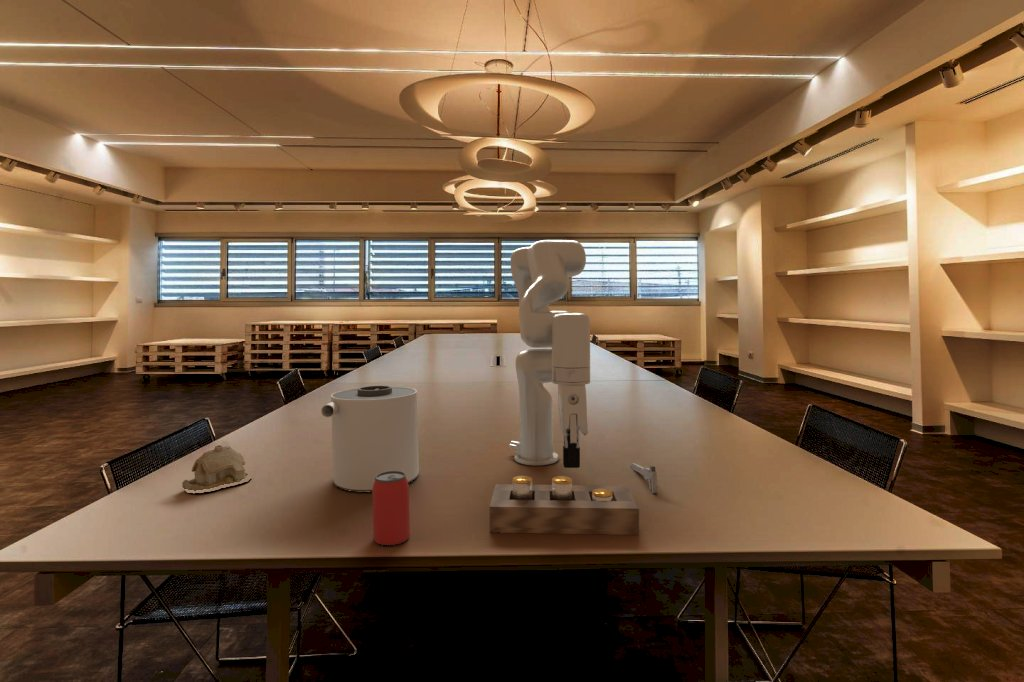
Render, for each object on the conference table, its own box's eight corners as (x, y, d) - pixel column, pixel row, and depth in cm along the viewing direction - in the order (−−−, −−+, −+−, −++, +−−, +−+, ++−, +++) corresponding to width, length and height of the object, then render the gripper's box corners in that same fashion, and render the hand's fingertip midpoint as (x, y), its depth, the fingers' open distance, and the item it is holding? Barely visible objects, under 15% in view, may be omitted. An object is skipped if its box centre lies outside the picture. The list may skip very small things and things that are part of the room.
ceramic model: (231, 474, 127) (230, 437, 126) (260, 479, 122) (258, 441, 121) (175, 491, 114) (173, 450, 113) (204, 499, 109) (202, 456, 109)
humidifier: (410, 493, 111) (408, 394, 110) (319, 495, 110) (316, 396, 109) (424, 464, 132) (422, 381, 131) (348, 466, 132) (346, 382, 130)
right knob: (593, 519, 93) (593, 496, 93) (591, 510, 97) (591, 488, 97) (613, 519, 93) (613, 496, 92) (610, 510, 97) (610, 488, 96)
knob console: (489, 532, 90) (489, 506, 90) (495, 507, 102) (495, 484, 102) (638, 534, 88) (638, 508, 88) (627, 508, 100) (627, 485, 100)
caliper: (657, 495, 109) (657, 468, 108) (652, 495, 109) (652, 468, 108) (634, 466, 129) (633, 444, 129) (629, 466, 129) (629, 444, 129)
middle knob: (552, 505, 93) (552, 482, 93) (551, 497, 97) (551, 475, 97) (572, 506, 93) (572, 483, 93) (571, 498, 97) (571, 476, 97)
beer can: (391, 551, 84) (389, 484, 83) (366, 542, 87) (364, 477, 86) (417, 536, 89) (416, 473, 88) (392, 528, 93) (391, 467, 92)
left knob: (512, 505, 94) (511, 482, 93) (513, 497, 98) (512, 475, 97) (532, 505, 93) (531, 482, 93) (532, 497, 97) (532, 475, 97)
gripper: (595, 380, 86) (595, 479, 87) (585, 370, 101) (585, 455, 102) (553, 380, 86) (554, 479, 87) (550, 371, 101) (550, 455, 102)
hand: (571, 466), depth 95 cm, fingers closed
